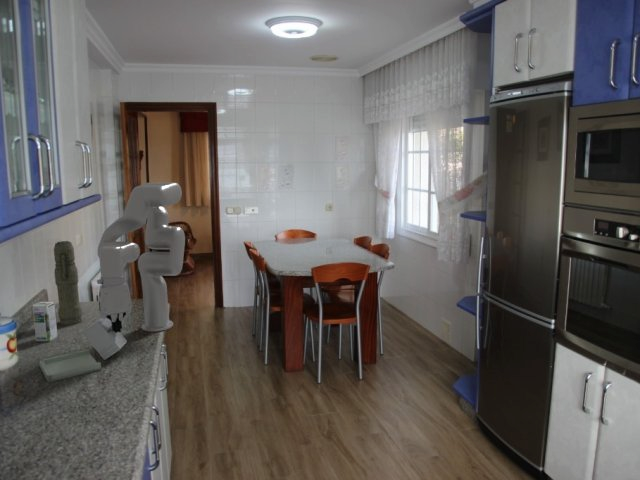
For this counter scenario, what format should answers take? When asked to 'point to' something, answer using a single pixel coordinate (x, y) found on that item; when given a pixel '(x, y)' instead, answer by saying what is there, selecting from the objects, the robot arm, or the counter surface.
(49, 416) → the counter surface
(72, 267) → the stone figurine
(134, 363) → the counter surface
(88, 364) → the tray
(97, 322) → the supplement box
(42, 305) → the syrup box
